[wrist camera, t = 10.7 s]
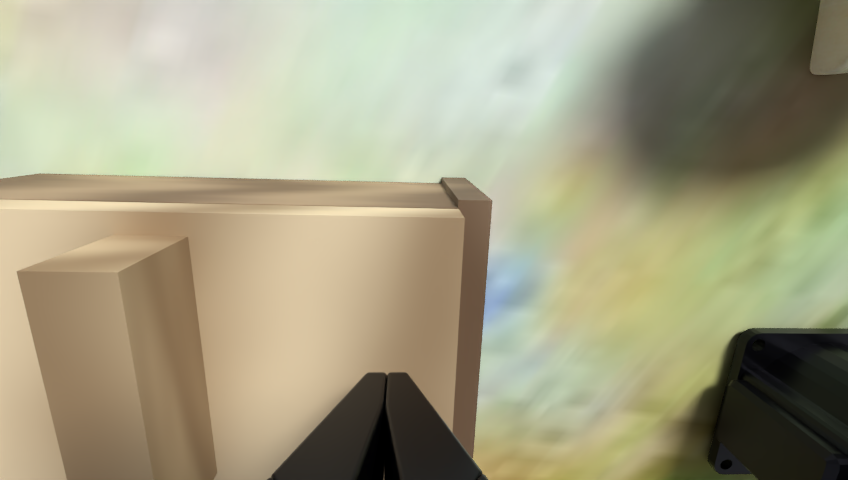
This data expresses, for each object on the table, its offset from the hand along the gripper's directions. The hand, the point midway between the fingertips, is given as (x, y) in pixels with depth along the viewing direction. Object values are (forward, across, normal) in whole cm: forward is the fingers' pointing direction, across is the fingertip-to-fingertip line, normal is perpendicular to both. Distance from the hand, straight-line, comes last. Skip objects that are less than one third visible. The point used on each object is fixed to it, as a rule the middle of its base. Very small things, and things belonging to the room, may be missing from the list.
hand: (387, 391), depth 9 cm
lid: (+2, +5, 0) cm, 5 cm away
